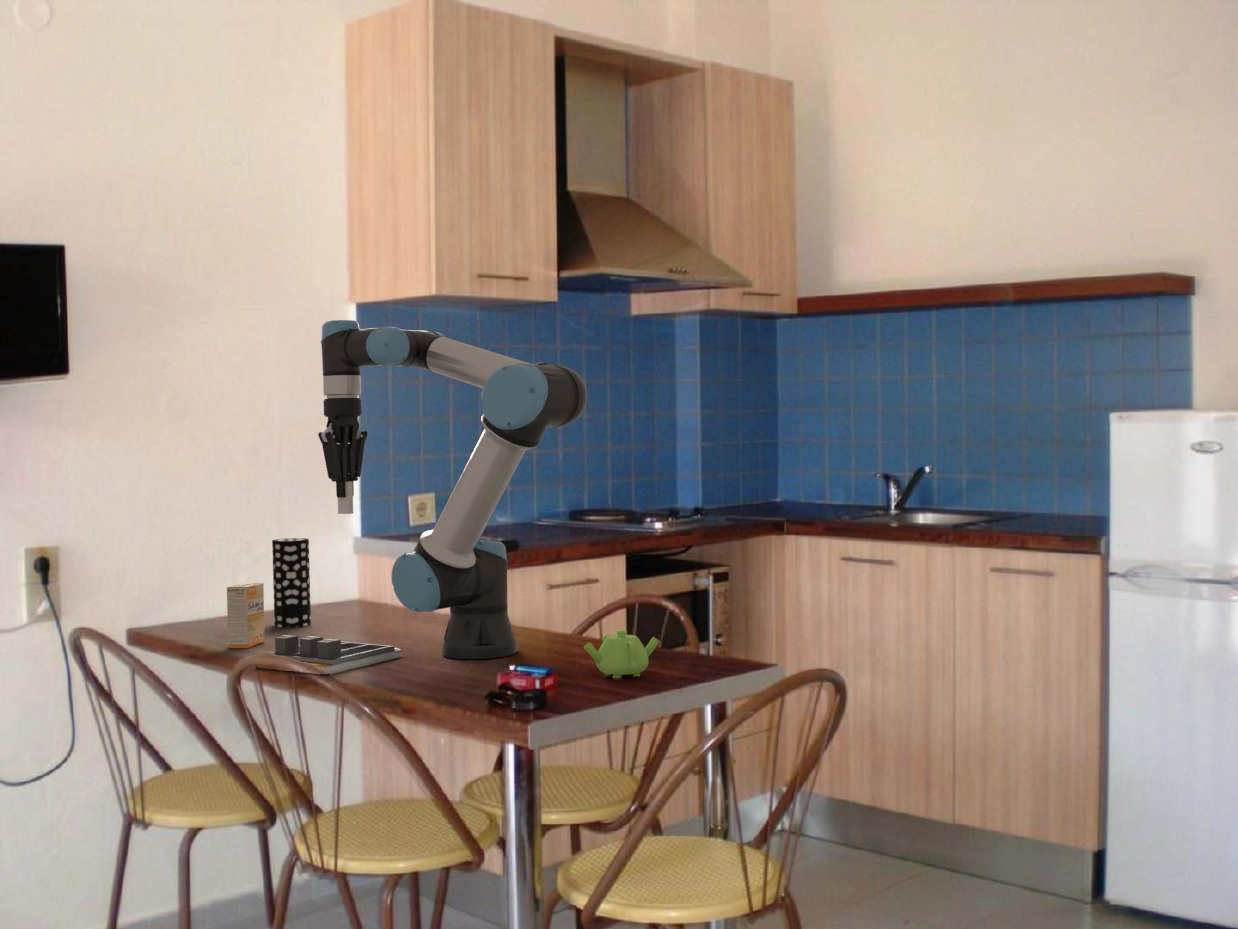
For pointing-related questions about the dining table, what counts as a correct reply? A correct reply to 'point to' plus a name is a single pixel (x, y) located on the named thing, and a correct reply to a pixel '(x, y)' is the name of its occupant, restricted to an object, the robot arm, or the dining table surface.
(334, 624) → the dining table surface
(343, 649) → the panel
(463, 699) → the dining table surface
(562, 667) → the dining table surface
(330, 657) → the breaker
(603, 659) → the teapot
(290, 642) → the breaker
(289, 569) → the spotted tube
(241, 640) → the supplement box
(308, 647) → the breaker mid
